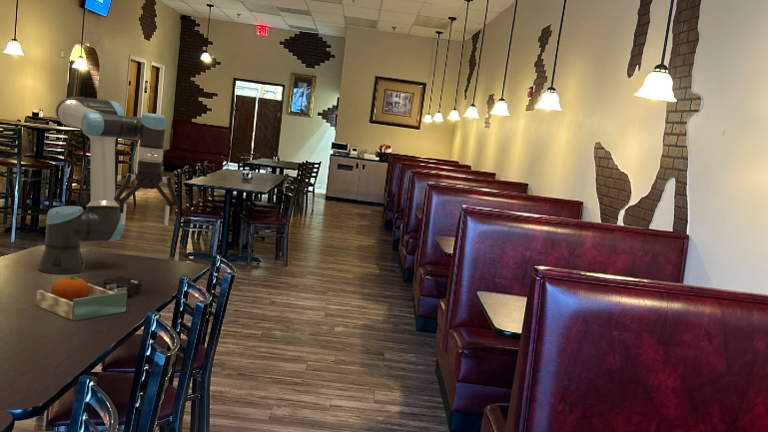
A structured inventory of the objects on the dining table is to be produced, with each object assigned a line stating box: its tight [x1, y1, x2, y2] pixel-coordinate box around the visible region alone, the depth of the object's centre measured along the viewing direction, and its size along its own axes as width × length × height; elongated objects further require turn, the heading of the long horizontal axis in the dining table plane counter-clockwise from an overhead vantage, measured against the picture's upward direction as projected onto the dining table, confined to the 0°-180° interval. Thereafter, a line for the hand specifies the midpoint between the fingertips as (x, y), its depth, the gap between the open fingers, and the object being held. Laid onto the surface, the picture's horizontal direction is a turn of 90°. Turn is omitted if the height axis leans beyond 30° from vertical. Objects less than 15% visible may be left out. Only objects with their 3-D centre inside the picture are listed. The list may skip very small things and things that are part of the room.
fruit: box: [50, 276, 90, 302], centre depth 199 cm, size 11×10×8 cm
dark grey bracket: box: [106, 284, 127, 293], centre depth 205 cm, size 6×4×6 cm, turn 58°
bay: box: [35, 283, 128, 322], centre depth 196 cm, size 19×17×6 cm
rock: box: [102, 275, 143, 297], centre depth 217 cm, size 9×10×6 cm
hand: (145, 224), depth 216 cm, fingers open, 13 cm apart
